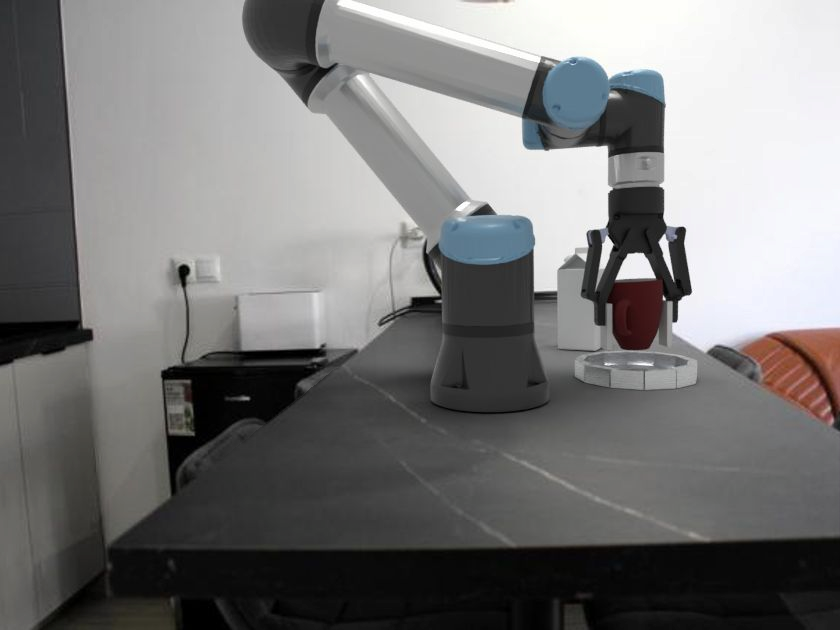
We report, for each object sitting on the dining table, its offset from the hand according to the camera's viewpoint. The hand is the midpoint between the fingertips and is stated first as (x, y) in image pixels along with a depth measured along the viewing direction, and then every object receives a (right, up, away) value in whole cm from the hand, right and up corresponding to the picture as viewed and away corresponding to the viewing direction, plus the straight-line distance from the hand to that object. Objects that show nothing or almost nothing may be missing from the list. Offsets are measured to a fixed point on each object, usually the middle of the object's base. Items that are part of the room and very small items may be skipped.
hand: (635, 346), depth 89 cm
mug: (0, -1, 0) cm, 1 cm away
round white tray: (0, -4, 0) cm, 4 cm away
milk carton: (0, -2, +28) cm, 28 cm away
